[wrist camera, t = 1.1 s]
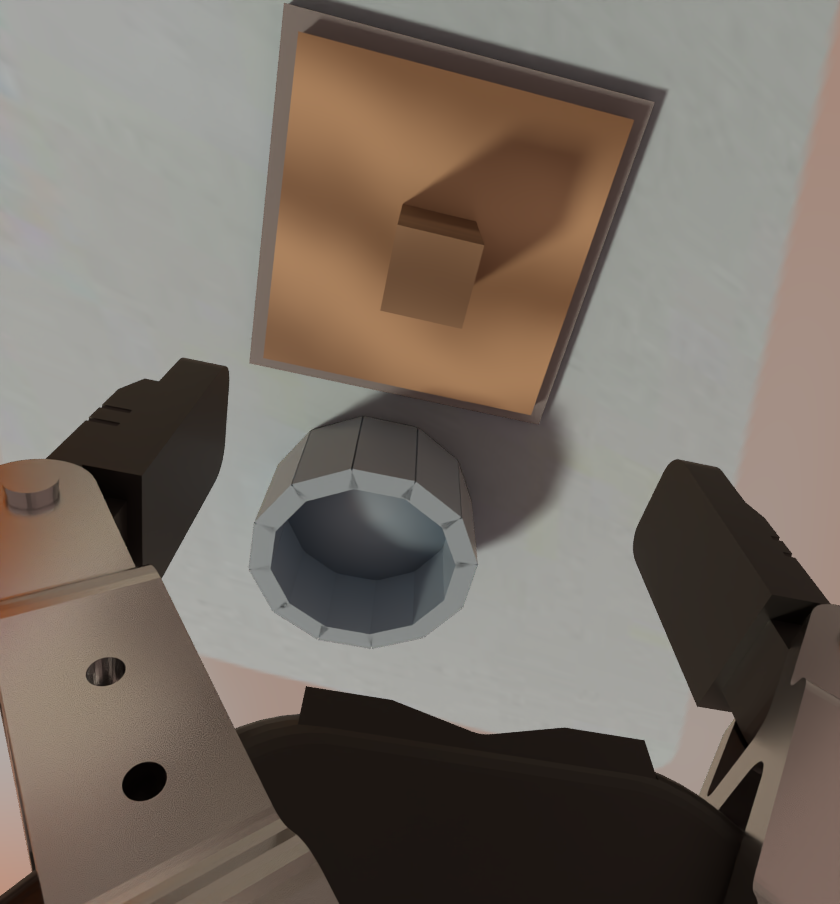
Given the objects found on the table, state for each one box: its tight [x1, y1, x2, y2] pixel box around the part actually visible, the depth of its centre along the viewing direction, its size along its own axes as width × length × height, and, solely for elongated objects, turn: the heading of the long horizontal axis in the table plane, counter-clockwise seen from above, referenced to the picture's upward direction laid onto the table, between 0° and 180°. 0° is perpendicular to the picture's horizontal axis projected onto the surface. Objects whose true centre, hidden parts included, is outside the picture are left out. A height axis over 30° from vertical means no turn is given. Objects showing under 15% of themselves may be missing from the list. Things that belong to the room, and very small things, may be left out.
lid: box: [263, 31, 634, 415], centre depth 24 cm, size 12×12×5 cm
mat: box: [250, 3, 655, 424], centre depth 27 cm, size 14×14×1 cm
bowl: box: [249, 416, 478, 649], centre depth 32 cm, size 10×10×5 cm
